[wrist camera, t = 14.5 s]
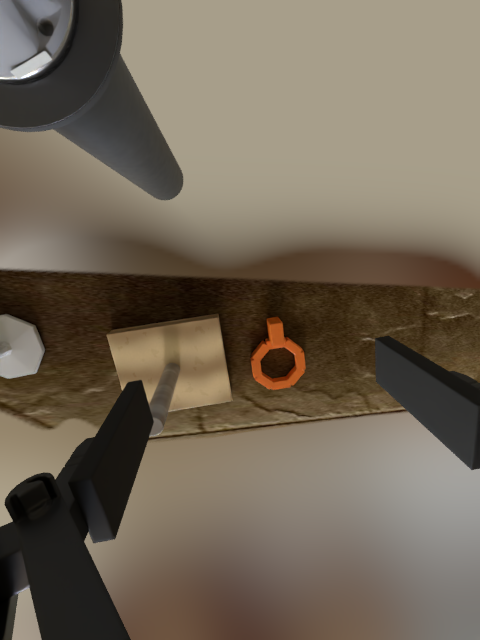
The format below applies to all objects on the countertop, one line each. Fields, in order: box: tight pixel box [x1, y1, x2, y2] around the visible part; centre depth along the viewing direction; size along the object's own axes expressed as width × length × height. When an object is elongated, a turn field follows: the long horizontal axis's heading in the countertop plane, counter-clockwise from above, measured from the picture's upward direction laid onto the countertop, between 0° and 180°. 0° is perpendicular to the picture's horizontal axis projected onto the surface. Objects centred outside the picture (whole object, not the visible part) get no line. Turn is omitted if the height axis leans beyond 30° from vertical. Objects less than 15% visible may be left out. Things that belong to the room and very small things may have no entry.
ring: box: [250, 317, 306, 390], centre depth 39 cm, size 10×7×3 cm
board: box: [107, 314, 232, 436], centre depth 33 cm, size 12×14×14 cm
